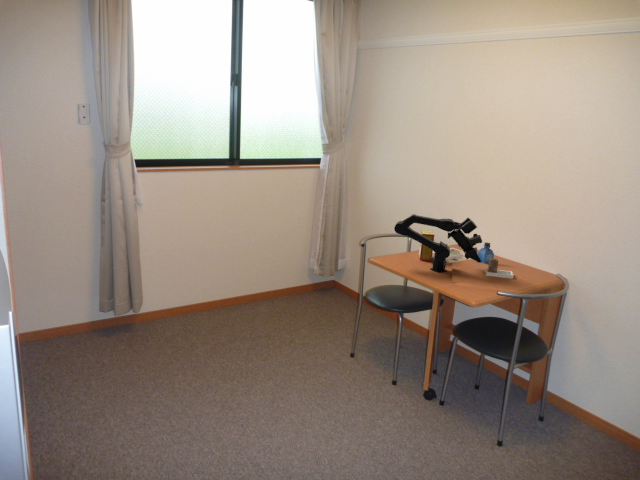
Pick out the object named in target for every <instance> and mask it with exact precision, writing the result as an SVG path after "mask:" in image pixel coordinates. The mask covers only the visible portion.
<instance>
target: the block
mask: <svg viewBox="0 0 640 480" xmlns="http://www.w3.org/2000/svg"><path fill="white" fill-rule="evenodd" d="M498 265H499V259H498V258H495V257H494V258H490V259H489V263H488V267H487V269H488V272H492V273H497V270H498V267H499V266H498Z"/></svg>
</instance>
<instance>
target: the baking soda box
mask: <svg viewBox="0 0 640 480" xmlns="http://www.w3.org/2000/svg"><path fill="white" fill-rule="evenodd" d="M420 234H421V235H423V236H425V237H427V238H429V239H430V240H432V241H434V242H435V233H434V231H433V230H425V229H422V230H421V229H420ZM418 251H419V252H418V257H419V261H422V262H432V260H433V252H434V251H433V250H432V249H430V248H428V247H427V246H425V245H423V244H421V243H419V249H418Z"/></svg>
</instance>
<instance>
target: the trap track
mask: <svg viewBox="0 0 640 480" xmlns="http://www.w3.org/2000/svg"><path fill="white" fill-rule="evenodd" d="M485 273H486V274H485V276H486V277H487V276H488V277H496V278H504V279H512V280H513V279H514V273H513V271H511V270H503V269H497V273H492V272H488V268H485Z"/></svg>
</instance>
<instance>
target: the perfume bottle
mask: <svg viewBox="0 0 640 480" xmlns="http://www.w3.org/2000/svg"><path fill="white" fill-rule="evenodd" d="M477 254H478V256H479V258H480V260H481V262H480V264H481V263H482V264H489V259H490V258H494V259H495V253H494V251H493V249H491V243H490V242H484V244H483V247H481V248H480V249H479V250H477Z"/></svg>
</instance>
